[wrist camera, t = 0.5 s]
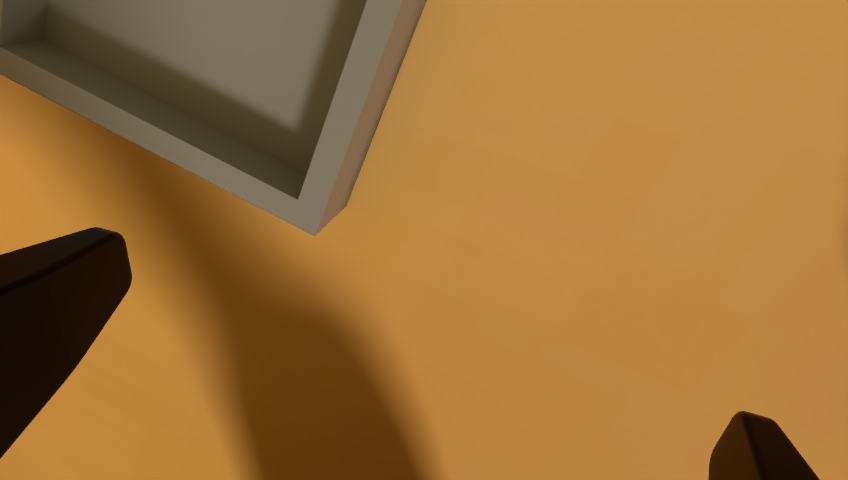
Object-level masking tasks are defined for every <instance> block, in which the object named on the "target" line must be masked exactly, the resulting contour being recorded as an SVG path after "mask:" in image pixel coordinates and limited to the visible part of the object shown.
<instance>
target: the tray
mask: <svg viewBox="0 0 848 480" xmlns="http://www.w3.org/2000/svg"><path fill="white" fill-rule="evenodd" d="M425 3H426V0H0V74H1V75H3V76H5V77H7V78H9V79H11V80H13V81H15V82H17V83H18V84H20V85H22V86H24V87H26V88H28V89H30V90H32V91H34V92H36V93H38V94H40V95H42V96H44V97H46V98H48V99H50V100H51V101H53V102H55V103H57V104H59V105H61V106H63V107H65V108H67V109H69V110H71V111H73V112H75V113H77V114H79V115H81V116H82V117H84V118H86V119H88V120H90V121H92V122H94V123H96V124H98V125H100V126H102V127H104V128H106V129H108V130H110V131H112V132H113V133H115V134H117V135H119V136H121V137H123V138H125V139H127V140H129V141H131V142H133V143H135V144H137V145H139V146H141V147H143V148H144V149H146V150H148V151H150V152H152V153H154V154H156V155H158V156H160V157H162V158H164V159H166V160H168V161H170V162H172V163H174V164H176V165H177V166H179V167H181V168H183V169H185V170H187V171H189V172H191V173H193V174H195V175H197V176H199V177H201V178H203V179H205V180H207V181H208V182H210V183H212V184H214V185H216V186H218V187H220V188H222V189H224V190H226V191H228V192H230V193H232V194H234V195H236V196H238V197H239V198H241V199H243V200H245V201H247V202H249V203H251V204H253V205H255V206H257V207H259V208H261V209H263V210H265V211H267V212H269V213H270V214H272V215H274V216H276V217H278V218H280V219H282V220H284V221H286V222H288V223H290V224H292V225H294V226H296V227H298V228H300V229H302V230H303V231H305V232H307V233H309V234H311V235H313V236H316V235H317V234H318V233H319V232H320V231H321V230H322V229H323V228H324V227H325V226H326V225H327V224H328V223H329V222H330V221H331V220H332V219H333V218H334V217H335V216H336V215H337V214H338V213H339V212H340V211H342V210H343V209H344V208H345V207H346V205H347V202H348V200H349V197H350V195H351V192H352V189H353V187H354V184H355V182H356V179H357V177H358V174H359V172H360V169H361V166H362V164H363V161H364V159H365V156H366V154H367V151H368V149H369V146H370V143H371V141H372V138H373V136H374V133H375V131H376V128H377V126H378V123H379V120H380V118H381V115H382V113H383V110H384V108H385V105H386V103H387V100H388V97H389V95H390V92H391V90H392V87H393V85H394V82H395V80H396V77H397V74H398V72H399V69H400V67H401V64H402V62H403V59H404V57H405V54H406V51H407V49H408V46H409V44H410V41H411V39H412V36H413V34H414V31H415V28H416V26H417V23H418V21H419V18H420V16H421V13H422V11H423V8H424V5H425Z"/></svg>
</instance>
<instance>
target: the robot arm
mask: <svg viewBox="0 0 848 480" xmlns="http://www.w3.org/2000/svg"><path fill="white" fill-rule="evenodd" d="M131 281H132V273H131V268H130V262H129V257H128V252H127V247H126V242H125V239H124V238H123V237H122V235H120V234H119V233H117V232H113V231H110V230H106V229H103V228H97V227H94V228H89V229H86V230H83V231H79V232H76V233H73V234H69V235H66V236H62V237H59V238H56V239H52V240H49V241H46V242H42V243H39V244H35V245H32V246H29V247H25V248H22V249H19V250H15V251H12V252H9V253H5V254H2V255H0V458H1V457H2V456H3V455H4V454H5V452H6V451H7V450H8V449H9V448H10V446H11V445H12V444H13V443H14V442H15V440H16V439H17V438H18V437H19V436H20V434H21V433H22V432H23V431H24V430H25V428H26V427H27V426H28V425H29V424H30V423H31V421H32V420H33V419H34V418H35V417H36V415H37V414H38V413H39V412H40V411H41V409H42V408H43V407H44V406H45V405H46V403H47V402H48V401H49V400H50V399H51V397H52V396H53V395H54V394H55V393H56V391H57V390H58V389H59V388H60V387H61V385H62V384H63V383H64V382H65V381H66V379H67V378H68V377H69V376H70V374H71V373H72V372H73V371H74V369H75V368H76V366H77V365H78V364H79V362H80V361H81V359H82V358H83V357H84V355H85V354H86V352H87V351H88V349H89V348H90V346H91V345H92V343H93V342H94V340H95V339H96V337H97V336H98V335H99V333H100V332H101V330H102V329H103V327H104V326H105V324H106V323H107V321H108V320H109V318H110V317H111V315H112V314H113V312H114V311H115V309H116V308H117V307H118V305H119V304H120V302H121V301H122V299H123V298H124V296H125V295H126V293H127V292H128V290H129V287H130V285H131ZM709 480H819V478H818V477H817V476H816V474H815V473H814V472H813V470H812V469H811V468H810V466H809V465H808V464H807V462H806V461H805V460H804V458H803V457H802V456H801V455H800V453H799V452H798V451H797V449H796V448H795V447H794V445H793V444H792V443H791V441H790V440H789V439H788V437H787V436H786V435H785V433H784V432H783V431H782V430H781V428H780V427H779V426H778V424H777V423H776V422H775V421H773V420H772V419H770V418H767V417H764V416H760V415H757V414H753V413H750V412H746V411H740V412H738V413H736V414H735V415H734V417H733V418H732V419H731V421H730V423H729V424H728V426H727V428H726V429H725V431H724V433H723V434H722V436H721V437H720V439H719V441H718V442H717V444H716V446H715V447H714V449H713V452H712V454H711V458H710V464H709Z"/></svg>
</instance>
